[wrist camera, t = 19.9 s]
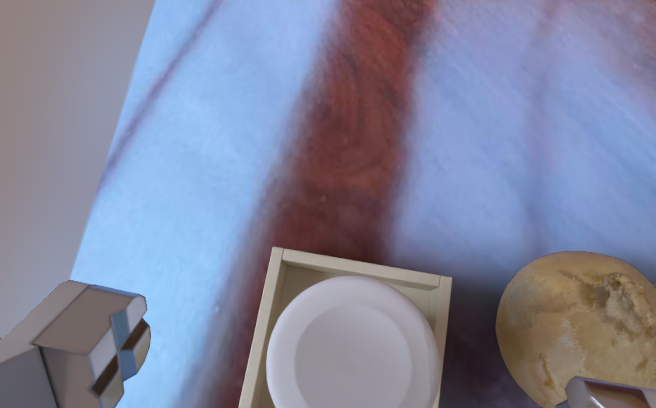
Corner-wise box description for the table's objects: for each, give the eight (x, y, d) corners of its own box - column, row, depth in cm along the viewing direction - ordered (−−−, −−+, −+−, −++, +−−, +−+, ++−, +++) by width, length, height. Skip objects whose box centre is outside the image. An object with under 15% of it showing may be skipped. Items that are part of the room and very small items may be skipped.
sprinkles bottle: (324, 291, 25) (298, 249, 12) (404, 319, 25) (464, 305, 12) (296, 375, 24) (235, 424, 11) (379, 405, 24) (414, 495, 11)
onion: (663, 366, 24) (785, 379, 18) (537, 442, 24) (613, 487, 17) (570, 236, 26) (648, 202, 20) (452, 303, 26) (490, 292, 19)
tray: (246, 425, 24) (231, 439, 21) (281, 256, 27) (272, 246, 24) (419, 461, 24) (430, 482, 20) (440, 283, 26) (452, 277, 23)
